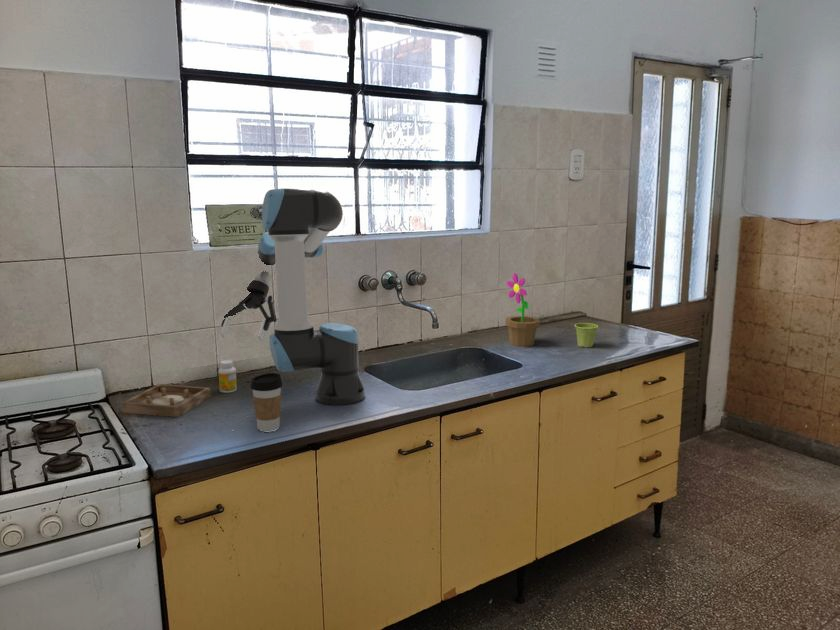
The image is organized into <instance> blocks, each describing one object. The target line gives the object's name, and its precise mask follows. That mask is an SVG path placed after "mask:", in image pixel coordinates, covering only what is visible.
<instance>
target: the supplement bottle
mask: <svg viewBox="0 0 840 630" xmlns="http://www.w3.org/2000/svg"><path fill="white" fill-rule="evenodd" d="M219 365H220V366H219V367H220V368H218V385H219V386H218V388H219V392H220V393H223V394H224V393H226V394H227V393H233V392H236V391H237V389H238V387H237V385H238V384H237V370H236V367H234V360H232V359H226V360H224V359H223V360H221V361H220V362H219Z"/></svg>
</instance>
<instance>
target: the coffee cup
mask: <svg viewBox="0 0 840 630" xmlns="http://www.w3.org/2000/svg"><path fill="white" fill-rule="evenodd" d="M282 387H283V381H282V377H281V374H280V373H275V372H268V373H263V374H259V375H256V376H254V377H252V378H251V383H250V389H251V390H252V399H253V401H252V402H253V406H254V407H253V409H254V413H255V414H254V415H255V419H256V426H257V430H258V429H259V430H262V431H271V430H275V429H277V428H279V427H281V424H280V423H281V422H280V421H281V408H282V407H281V405H282ZM279 429H280V428H279Z"/></svg>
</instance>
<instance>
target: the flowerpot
mask: <svg viewBox="0 0 840 630" xmlns="http://www.w3.org/2000/svg"><path fill="white" fill-rule="evenodd" d="M525 284H526V279H525V277H524V278H520V279H519V277H518V274H517V273H516V272H514V273H513V275H512V280H508V281H506V285H507V286H508V287H509V288H511V289H512V288H513V289H512V290H510V292H509V293H508V298H509V299H511V298H513V297H514V296H515V301H516V302H517V304H520V303H521V307H518V308H516V309H515V310H516V312H518V313H520V314H521V315H516V316H515V315H513V316H509V317H506V318H505V321H504V322H505V326H506V327H508V328H507V329H508V331H507V332H508V338H509V340H508V341H509V345H511V346H514V347H519V348H520V347H523V348H527V347H532V346H534V345H535V339H536V334H537V328H539V327H540V324H541V319H539V318H537V317H534V316H529V315H527V316H526V315H525V310H529V308H530V305H529V302H527V300H524V296H527V295H528V293H527V291H526V289H524V288H520V287H522V286H524V285H525Z"/></svg>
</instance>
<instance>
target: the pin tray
mask: <svg viewBox="0 0 840 630" xmlns="http://www.w3.org/2000/svg"><path fill="white" fill-rule="evenodd" d="M209 397H210V398H211V387H203V386H190V385H179V384H165V383H164V384H163V383H157V384H155V385H154V386H152V387H150V388H148V389H147V390H144V391H142V392H141V393H138V394H136V395H135V396H132V397H131V398H129V399H127V400H125V401H123V402H122V403H121V404H122V413H123V414H124V413H126V414H136V415H145V414H146V416H147V415H149V416H157V415H159V417H168V416H170V418H180V417H181V416H183V415H184V414H186V413H187V412H189V411H190V410H192V409H194V408H195V407H197V406H199V405H200V404H202V403H203V402H205V401H207V400H209V399H210V398H209Z"/></svg>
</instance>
